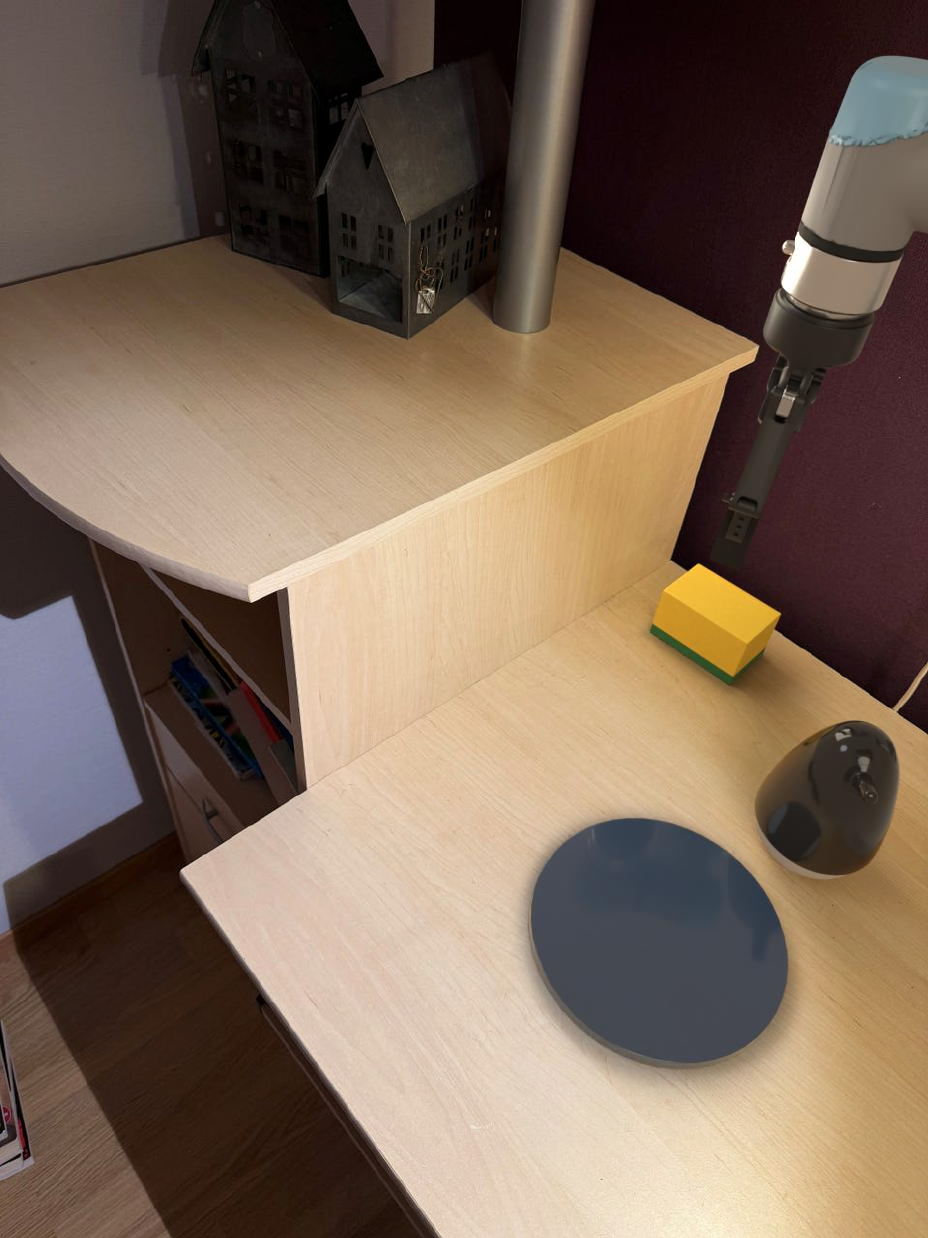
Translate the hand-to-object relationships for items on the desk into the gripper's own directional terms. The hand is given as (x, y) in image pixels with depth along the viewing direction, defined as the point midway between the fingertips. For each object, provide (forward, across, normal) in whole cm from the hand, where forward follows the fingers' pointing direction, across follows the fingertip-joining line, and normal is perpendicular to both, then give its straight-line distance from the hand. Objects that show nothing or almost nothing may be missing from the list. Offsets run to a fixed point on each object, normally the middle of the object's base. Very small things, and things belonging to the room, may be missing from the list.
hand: (741, 521), depth 83 cm
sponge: (+17, -1, +1) cm, 17 cm away
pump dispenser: (+17, +19, +14) cm, 29 cm away
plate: (+17, +33, +6) cm, 37 cm away
